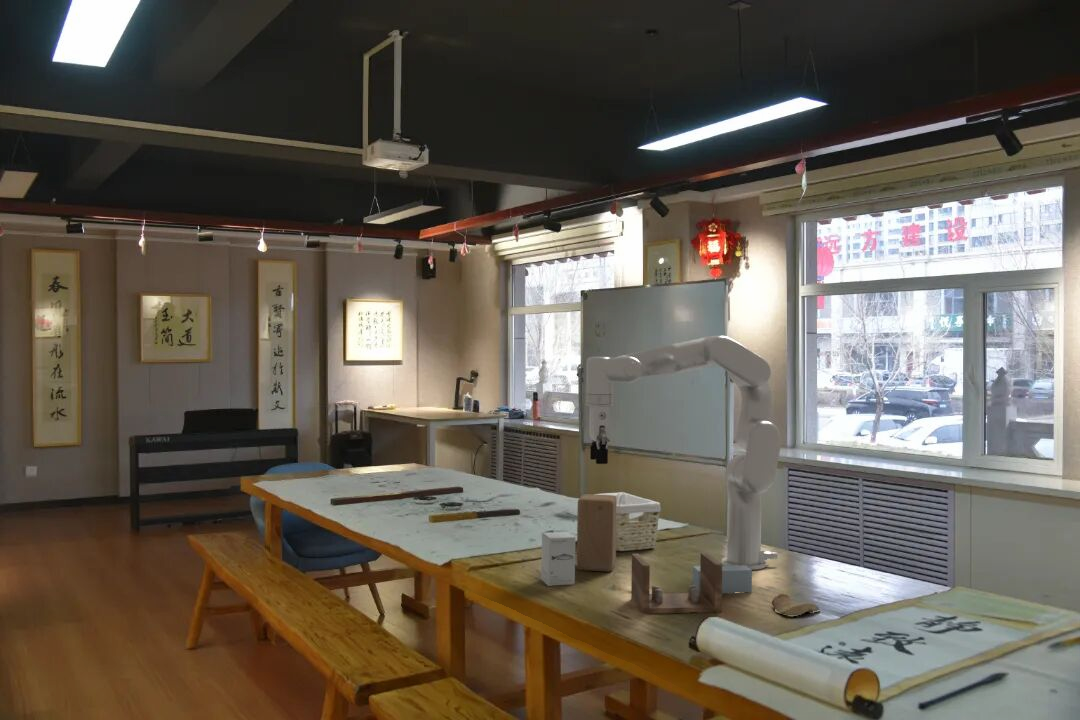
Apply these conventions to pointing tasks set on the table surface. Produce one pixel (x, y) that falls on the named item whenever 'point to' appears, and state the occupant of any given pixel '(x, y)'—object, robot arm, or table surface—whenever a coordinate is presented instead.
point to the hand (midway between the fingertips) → (598, 461)
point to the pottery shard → (791, 606)
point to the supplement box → (558, 558)
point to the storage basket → (635, 522)
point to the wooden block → (596, 532)
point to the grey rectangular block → (730, 578)
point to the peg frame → (678, 602)
